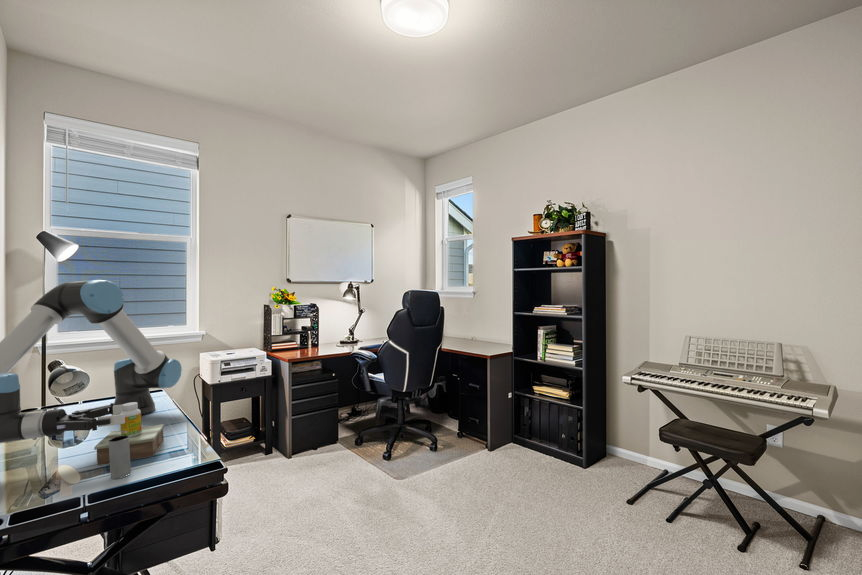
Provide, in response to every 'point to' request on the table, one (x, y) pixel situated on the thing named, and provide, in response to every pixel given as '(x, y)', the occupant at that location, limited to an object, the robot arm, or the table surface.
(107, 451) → the podium
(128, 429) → the supplement bottle
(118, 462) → the grey hollow cylinder
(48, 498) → the table surface
